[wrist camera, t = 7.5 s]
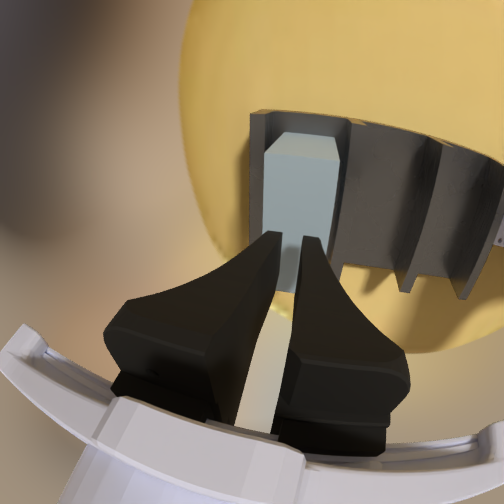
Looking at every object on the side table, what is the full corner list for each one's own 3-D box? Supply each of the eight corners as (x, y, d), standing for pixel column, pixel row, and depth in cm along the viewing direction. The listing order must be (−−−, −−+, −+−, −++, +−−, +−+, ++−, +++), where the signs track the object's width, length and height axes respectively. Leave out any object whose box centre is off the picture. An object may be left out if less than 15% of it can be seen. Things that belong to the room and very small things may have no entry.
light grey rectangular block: (334, 137, 15) (339, 161, 10) (322, 238, 19) (317, 296, 14) (284, 131, 15) (264, 153, 10) (279, 232, 19) (260, 287, 14)
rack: (491, 157, 12) (517, 172, 10) (453, 271, 18) (466, 299, 15) (262, 109, 16) (248, 113, 13) (259, 242, 21) (247, 269, 18)
